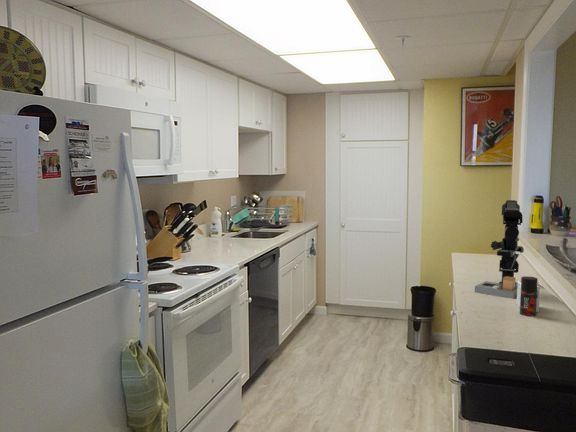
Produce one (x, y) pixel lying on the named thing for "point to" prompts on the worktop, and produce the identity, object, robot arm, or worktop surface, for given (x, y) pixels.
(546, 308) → the worktop surface
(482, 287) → the socket plate
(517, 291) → the light bulb box
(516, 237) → the robot arm
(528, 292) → the deodorant
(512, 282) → the orange rectangular block
